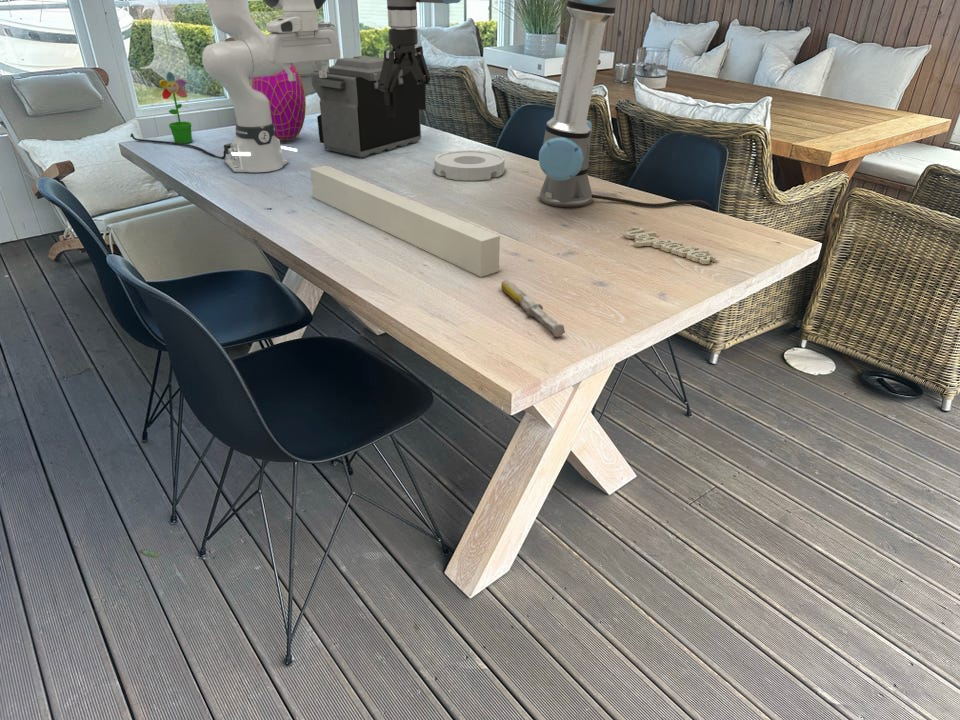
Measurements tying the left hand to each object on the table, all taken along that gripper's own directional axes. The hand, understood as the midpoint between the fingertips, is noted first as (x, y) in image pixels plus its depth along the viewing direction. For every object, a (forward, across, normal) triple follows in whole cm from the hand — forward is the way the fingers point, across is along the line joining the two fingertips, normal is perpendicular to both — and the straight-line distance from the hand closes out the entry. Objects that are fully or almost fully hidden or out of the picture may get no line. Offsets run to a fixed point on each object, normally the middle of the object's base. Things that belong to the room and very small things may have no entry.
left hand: (308, 79), depth 189 cm
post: (+34, 0, +37) cm, 50 cm away
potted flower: (+29, +6, -92) cm, 97 cm away
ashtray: (+33, -52, +6) cm, 61 cm away
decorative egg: (+30, -24, -72) cm, 81 cm away
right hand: (+8, -18, +21) cm, 29 cm away
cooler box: (+31, -45, -43) cm, 70 cm away
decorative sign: (+36, -44, +91) cm, 107 cm away
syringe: (+36, +6, +95) cm, 102 cm away
